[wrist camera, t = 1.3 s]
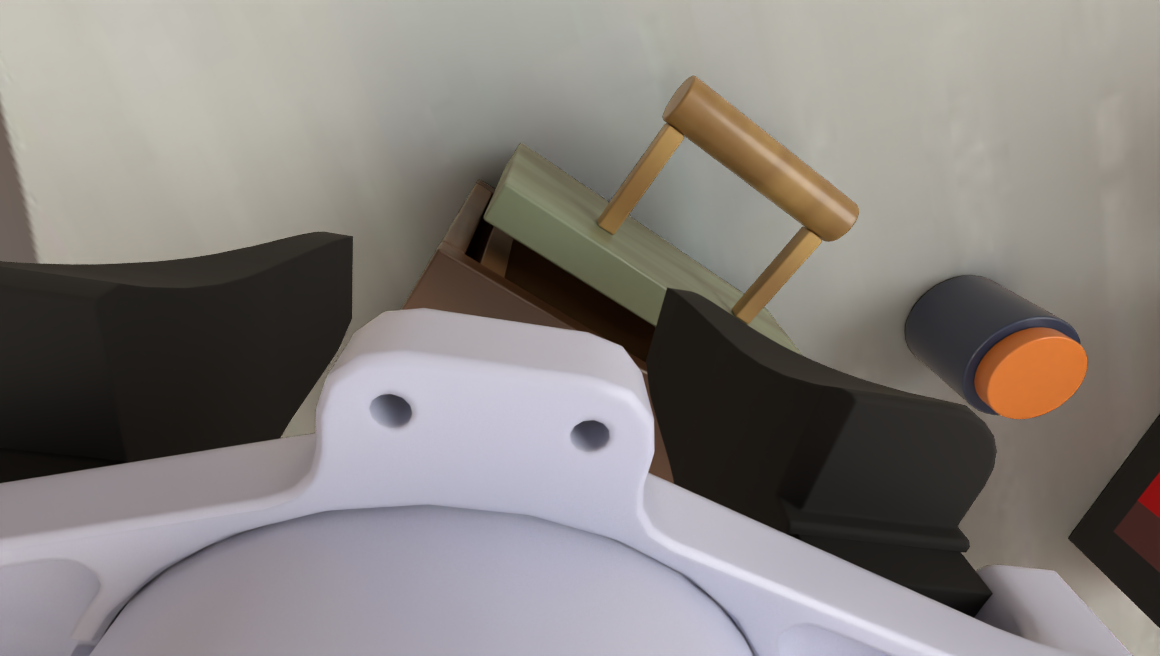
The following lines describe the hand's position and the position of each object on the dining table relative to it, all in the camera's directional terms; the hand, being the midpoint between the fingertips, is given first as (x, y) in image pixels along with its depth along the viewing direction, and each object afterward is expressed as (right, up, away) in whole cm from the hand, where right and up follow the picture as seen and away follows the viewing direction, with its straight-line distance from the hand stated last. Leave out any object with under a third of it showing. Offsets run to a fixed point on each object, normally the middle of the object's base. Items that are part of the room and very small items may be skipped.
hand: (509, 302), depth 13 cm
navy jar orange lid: (+18, 0, +12) cm, 22 cm away
